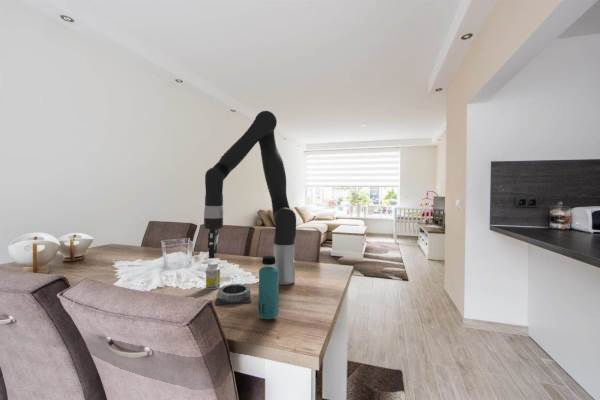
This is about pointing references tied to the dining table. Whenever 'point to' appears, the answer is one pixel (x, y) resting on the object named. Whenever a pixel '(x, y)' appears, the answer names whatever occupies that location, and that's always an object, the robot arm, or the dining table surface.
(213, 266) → the supplement bottle
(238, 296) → the ring seat
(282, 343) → the dining table surface
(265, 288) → the beverage bottle
